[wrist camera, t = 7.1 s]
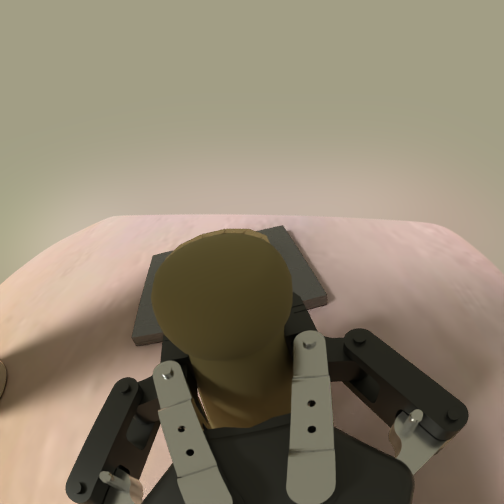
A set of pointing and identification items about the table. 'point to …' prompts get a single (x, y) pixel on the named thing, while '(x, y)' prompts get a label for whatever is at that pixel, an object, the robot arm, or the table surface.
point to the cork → (230, 324)
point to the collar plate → (277, 241)
